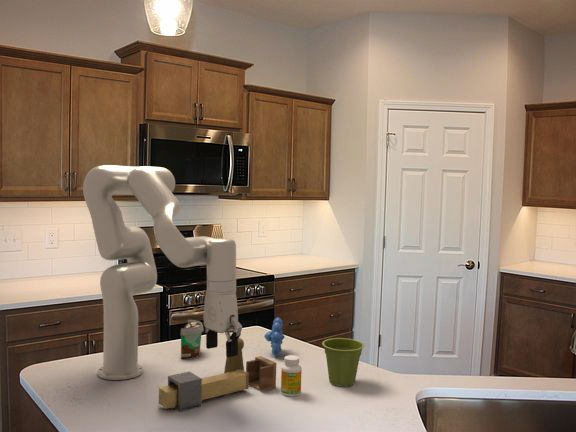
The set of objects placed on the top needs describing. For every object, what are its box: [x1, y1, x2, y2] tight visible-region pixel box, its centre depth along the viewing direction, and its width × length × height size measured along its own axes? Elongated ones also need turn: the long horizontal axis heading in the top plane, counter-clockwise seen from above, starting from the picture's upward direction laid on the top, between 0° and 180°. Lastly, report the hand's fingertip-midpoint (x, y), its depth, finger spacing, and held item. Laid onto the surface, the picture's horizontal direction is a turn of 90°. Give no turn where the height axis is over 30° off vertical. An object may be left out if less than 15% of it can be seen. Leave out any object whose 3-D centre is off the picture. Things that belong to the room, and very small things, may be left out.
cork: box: [223, 337, 245, 373], centre depth 163 cm, size 6×6×11 cm
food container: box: [180, 319, 205, 360], centre depth 182 cm, size 12×6×10 cm, turn 179°
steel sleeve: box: [167, 371, 203, 413], centre depth 141 cm, size 6×6×7 cm
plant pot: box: [321, 337, 365, 388], centre depth 160 cm, size 12×12×11 cm
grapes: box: [263, 316, 285, 357], centre depth 185 cm, size 12×7×12 cm, turn 176°
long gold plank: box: [158, 369, 250, 409], centre depth 145 cm, size 4×24×4 cm, turn 129°
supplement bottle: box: [280, 354, 303, 398], centre depth 151 cm, size 5×5×10 cm
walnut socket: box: [245, 355, 277, 392], centre depth 156 cm, size 7×5×7 cm
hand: (221, 351), depth 147 cm, fingers open, 9 cm apart
